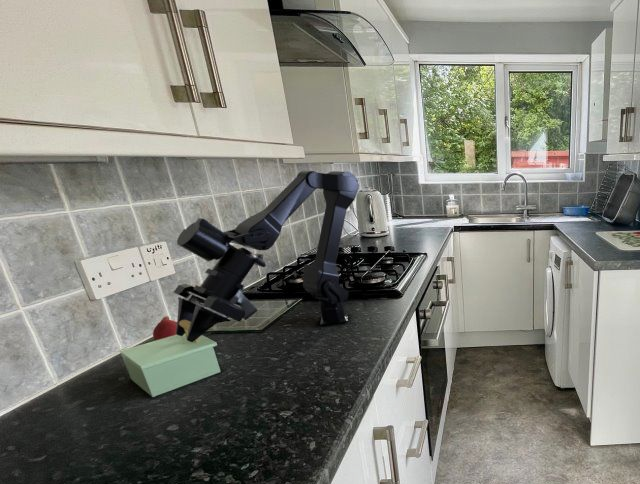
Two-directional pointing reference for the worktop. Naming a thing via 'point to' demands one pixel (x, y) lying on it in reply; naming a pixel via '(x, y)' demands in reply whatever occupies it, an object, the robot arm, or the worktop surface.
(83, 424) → the worktop surface
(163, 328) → the onion
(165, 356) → the bin lid
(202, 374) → the bin
